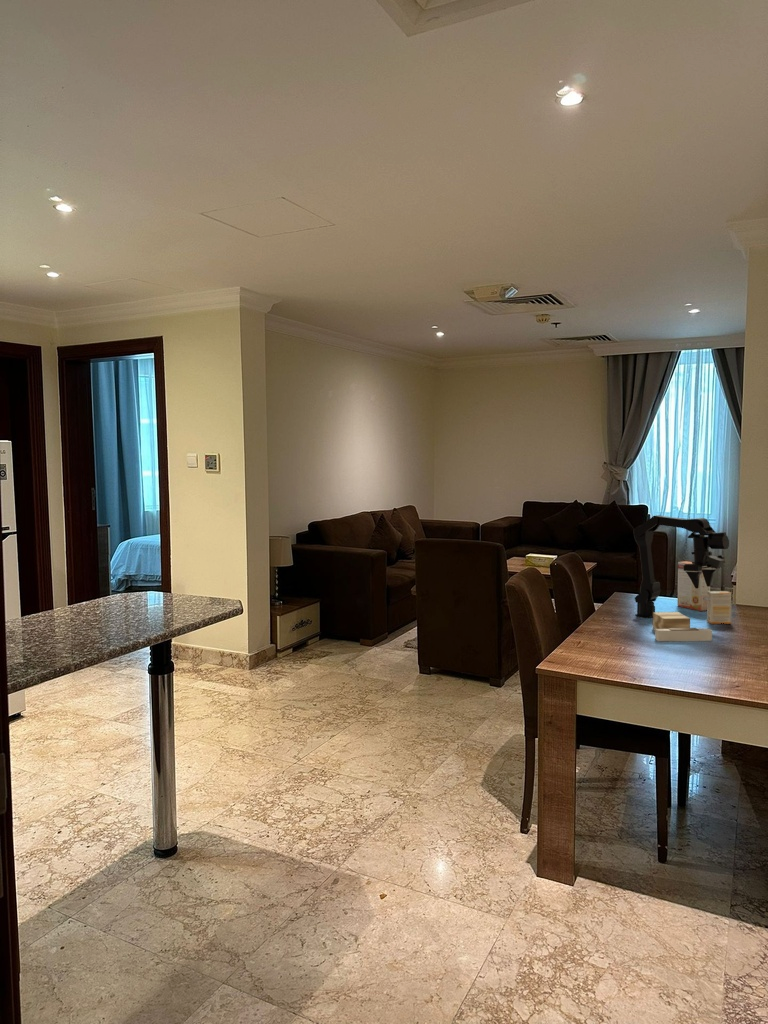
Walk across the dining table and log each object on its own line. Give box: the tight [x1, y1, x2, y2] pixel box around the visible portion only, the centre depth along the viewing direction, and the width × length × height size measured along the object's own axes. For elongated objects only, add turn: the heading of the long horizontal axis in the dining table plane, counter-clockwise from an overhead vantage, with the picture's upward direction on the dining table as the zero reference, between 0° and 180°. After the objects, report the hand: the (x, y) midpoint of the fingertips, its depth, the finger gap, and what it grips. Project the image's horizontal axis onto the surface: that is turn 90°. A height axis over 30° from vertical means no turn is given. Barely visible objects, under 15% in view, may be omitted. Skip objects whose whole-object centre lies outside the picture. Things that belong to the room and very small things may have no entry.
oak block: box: [652, 611, 691, 630], centre depth 282 cm, size 12×10×7 cm
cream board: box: [654, 627, 713, 642], centre depth 269 cm, size 3×20×4 cm, turn 88°
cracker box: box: [676, 560, 711, 612], centre depth 326 cm, size 14×6×21 cm, turn 22°
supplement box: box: [706, 590, 732, 625], centre depth 296 cm, size 8×5×13 cm, turn 84°
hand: (702, 587), depth 291 cm, fingers open, 9 cm apart
